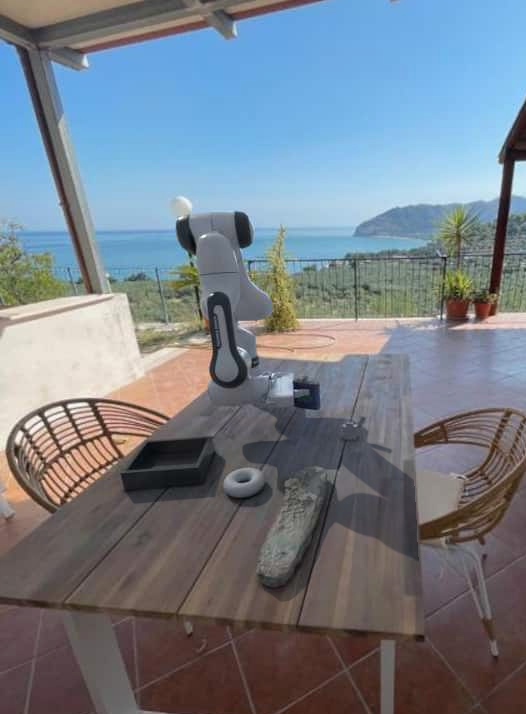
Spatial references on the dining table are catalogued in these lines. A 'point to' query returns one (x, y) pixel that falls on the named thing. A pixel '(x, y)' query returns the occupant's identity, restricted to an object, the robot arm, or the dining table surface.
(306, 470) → the elongated rock
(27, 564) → the dining table surface
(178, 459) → the tray
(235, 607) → the dining table surface
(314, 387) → the flask
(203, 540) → the dining table surface
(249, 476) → the donut
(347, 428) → the lighter
